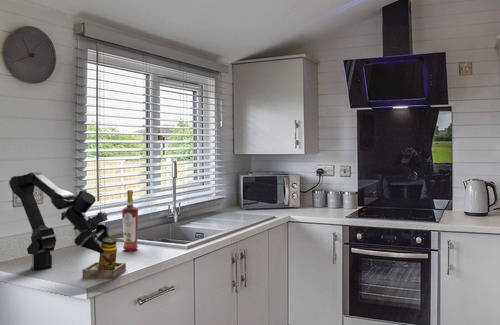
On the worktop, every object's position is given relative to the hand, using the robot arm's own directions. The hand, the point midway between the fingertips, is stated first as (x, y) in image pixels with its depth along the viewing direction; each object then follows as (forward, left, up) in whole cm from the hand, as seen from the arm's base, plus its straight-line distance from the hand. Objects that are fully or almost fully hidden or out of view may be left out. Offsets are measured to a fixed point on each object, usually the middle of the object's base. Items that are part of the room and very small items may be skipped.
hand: (107, 249), depth 169 cm
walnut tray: (-1, +1, -9) cm, 10 cm away
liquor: (+21, +33, -10) cm, 41 cm away
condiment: (-1, +2, -8) cm, 8 cm away
